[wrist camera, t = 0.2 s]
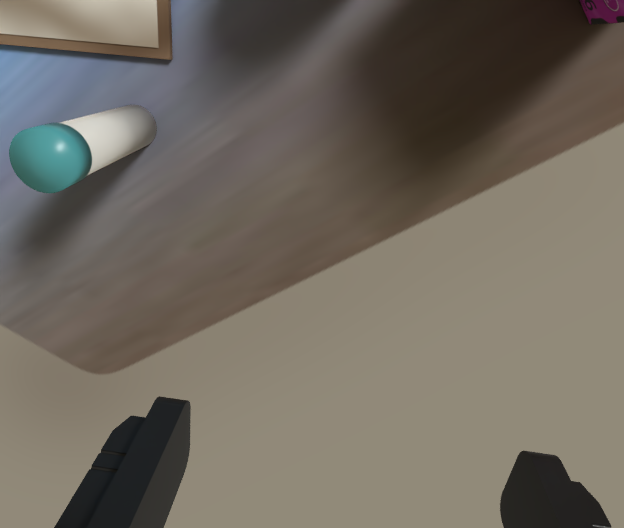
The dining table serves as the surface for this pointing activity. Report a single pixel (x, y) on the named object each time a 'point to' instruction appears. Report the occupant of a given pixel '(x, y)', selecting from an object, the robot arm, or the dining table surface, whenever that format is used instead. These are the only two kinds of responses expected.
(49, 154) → the marker
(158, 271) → the dining table surface
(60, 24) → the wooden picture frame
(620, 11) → the candy bar box
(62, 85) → the dining table surface
